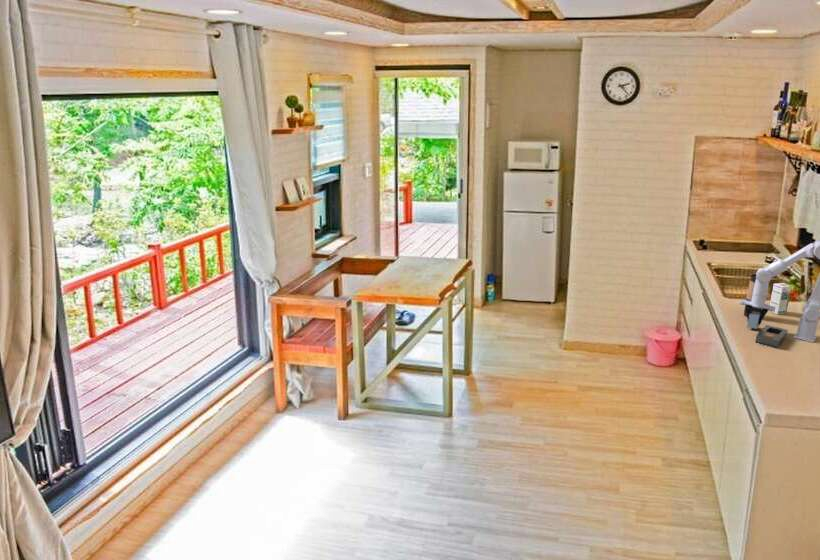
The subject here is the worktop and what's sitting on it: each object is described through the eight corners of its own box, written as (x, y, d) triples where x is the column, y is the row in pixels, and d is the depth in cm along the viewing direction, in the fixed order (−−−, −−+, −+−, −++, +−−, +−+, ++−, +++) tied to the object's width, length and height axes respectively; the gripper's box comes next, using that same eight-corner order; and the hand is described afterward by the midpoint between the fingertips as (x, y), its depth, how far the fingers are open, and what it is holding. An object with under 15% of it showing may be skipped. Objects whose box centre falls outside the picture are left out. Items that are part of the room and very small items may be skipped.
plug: (750, 323, 338) (752, 311, 336) (759, 325, 336) (762, 313, 334) (747, 326, 333) (749, 314, 332) (756, 328, 331) (758, 316, 329)
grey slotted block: (764, 332, 331) (766, 323, 330) (786, 337, 326) (788, 328, 324) (755, 342, 317) (756, 333, 316) (777, 348, 312) (779, 339, 311)
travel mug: (763, 317, 351) (771, 277, 345) (754, 319, 347) (762, 279, 341) (748, 312, 357) (756, 273, 351) (739, 314, 353) (747, 275, 347)
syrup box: (777, 314, 356) (783, 286, 352) (767, 310, 362) (773, 282, 357) (786, 314, 358) (792, 285, 354) (776, 310, 363) (782, 282, 359)
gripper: (740, 292, 331) (735, 320, 335) (774, 300, 323) (768, 328, 327) (744, 289, 336) (739, 317, 340) (778, 296, 328) (772, 325, 332)
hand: (754, 322), depth 334 cm, fingers closed on plug, 4 cm apart
